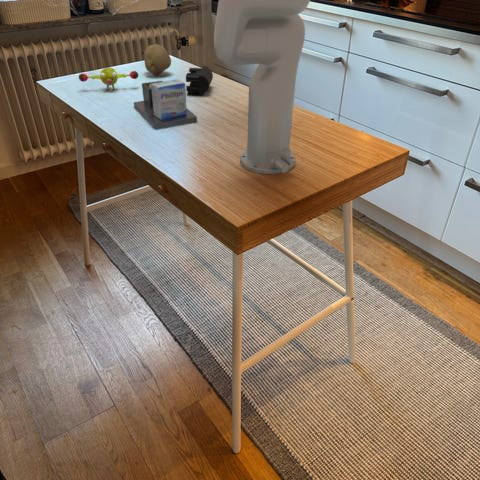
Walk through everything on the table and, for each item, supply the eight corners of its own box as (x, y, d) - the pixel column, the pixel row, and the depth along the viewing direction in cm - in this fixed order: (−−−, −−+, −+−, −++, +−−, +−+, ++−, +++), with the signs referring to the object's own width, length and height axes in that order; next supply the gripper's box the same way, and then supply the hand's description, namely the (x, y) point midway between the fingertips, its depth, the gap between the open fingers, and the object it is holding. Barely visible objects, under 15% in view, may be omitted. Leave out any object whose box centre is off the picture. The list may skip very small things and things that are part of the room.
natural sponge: (174, 71, 159) (172, 41, 153) (168, 79, 152) (166, 48, 146) (149, 70, 159) (146, 40, 153) (142, 78, 152) (139, 47, 146)
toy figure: (80, 94, 138) (76, 72, 134) (81, 88, 142) (77, 66, 138) (140, 91, 141) (137, 69, 137) (139, 85, 146) (137, 64, 142)
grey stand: (197, 122, 122) (196, 98, 118) (154, 129, 117) (152, 105, 113) (173, 101, 134) (171, 79, 131) (134, 107, 130) (131, 84, 126)
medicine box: (160, 120, 118) (157, 87, 113) (153, 115, 121) (150, 82, 116) (187, 115, 122) (185, 82, 117) (179, 110, 125) (177, 78, 120)
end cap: (209, 97, 138) (208, 75, 134) (186, 96, 138) (185, 74, 134) (213, 87, 146) (212, 65, 142) (191, 86, 146) (190, 64, 142)
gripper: (249, -84, 107) (247, 2, 118) (191, -85, 101) (194, 6, 112) (265, -83, 101) (261, 7, 112) (204, -84, 96) (207, 11, 106)
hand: (228, 6), depth 112 cm, fingers closed
